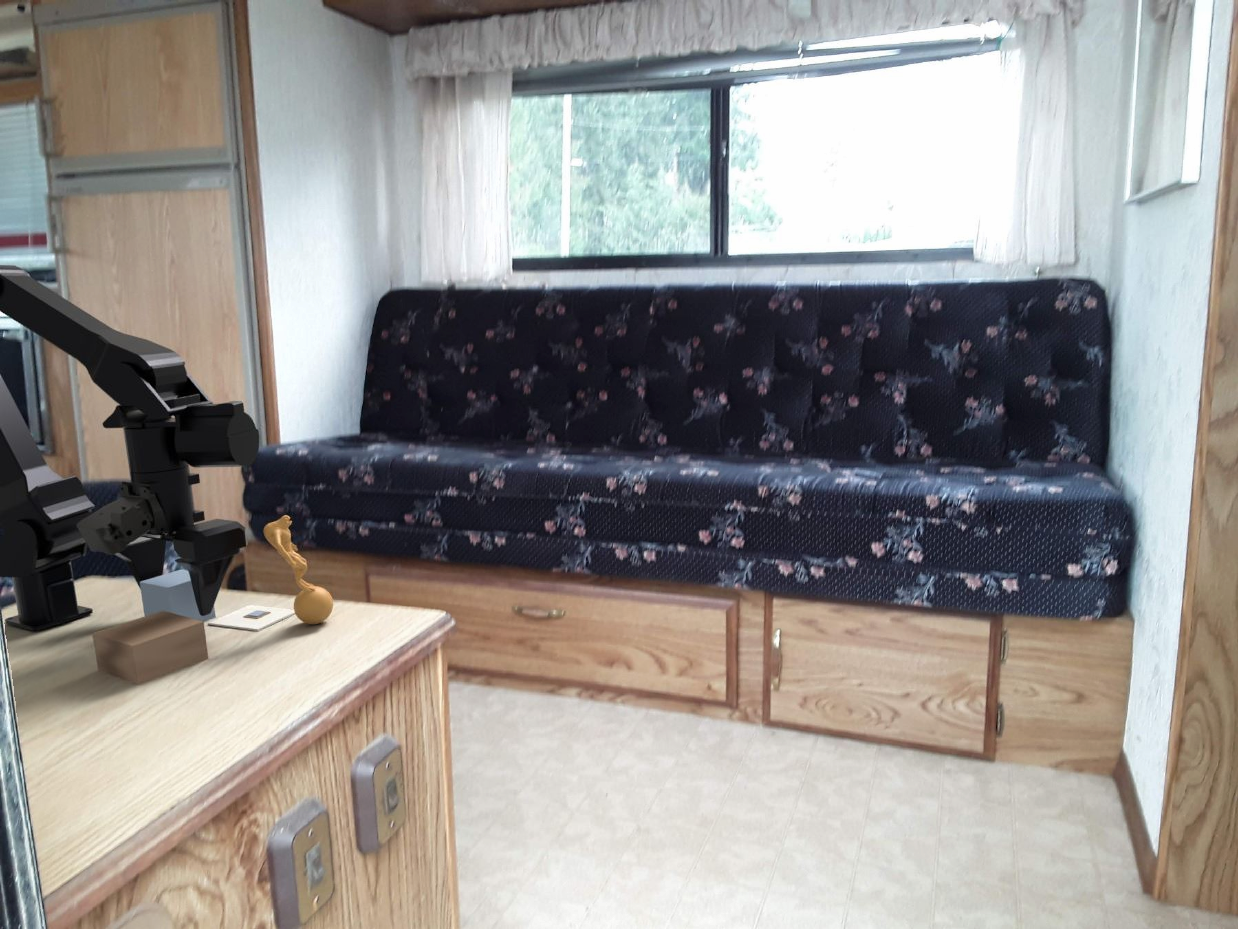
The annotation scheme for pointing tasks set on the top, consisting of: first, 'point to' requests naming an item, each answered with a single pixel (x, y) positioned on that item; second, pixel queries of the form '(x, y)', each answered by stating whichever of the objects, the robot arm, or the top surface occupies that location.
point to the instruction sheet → (253, 617)
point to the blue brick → (171, 596)
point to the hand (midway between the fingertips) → (179, 609)
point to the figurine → (299, 575)
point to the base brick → (150, 646)
